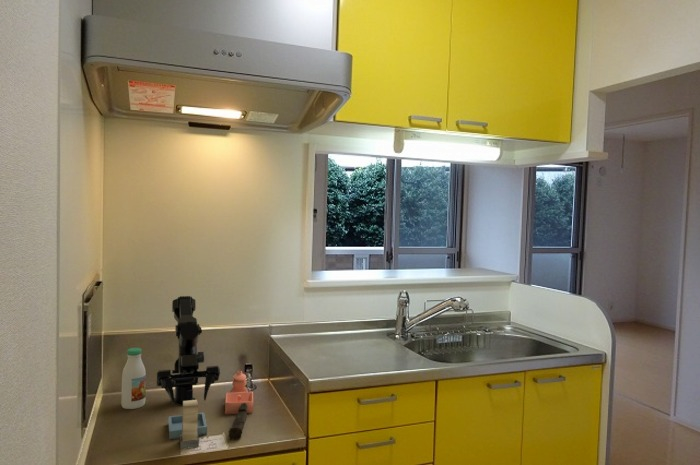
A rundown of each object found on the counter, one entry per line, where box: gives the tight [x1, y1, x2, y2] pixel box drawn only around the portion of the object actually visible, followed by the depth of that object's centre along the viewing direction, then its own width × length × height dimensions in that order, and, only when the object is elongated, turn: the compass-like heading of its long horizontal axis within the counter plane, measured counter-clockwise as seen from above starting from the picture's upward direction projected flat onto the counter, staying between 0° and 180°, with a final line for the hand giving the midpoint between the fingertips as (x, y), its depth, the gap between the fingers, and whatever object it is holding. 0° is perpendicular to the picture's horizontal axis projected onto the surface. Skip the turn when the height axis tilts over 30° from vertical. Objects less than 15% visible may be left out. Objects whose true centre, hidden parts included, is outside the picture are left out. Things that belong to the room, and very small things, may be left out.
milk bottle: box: [120, 347, 147, 410], centre depth 169 cm, size 8×8×20 cm
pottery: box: [224, 370, 254, 415], centre depth 174 cm, size 18×10×10 cm, turn 13°
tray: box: [167, 412, 208, 440], centre depth 153 cm, size 11×11×2 cm
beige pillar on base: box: [179, 399, 200, 450], centre depth 143 cm, size 5×5×12 cm
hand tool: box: [228, 403, 248, 440], centre depth 157 cm, size 19×4×5 cm, turn 1°
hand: (189, 401), depth 147 cm, fingers open, 9 cm apart
